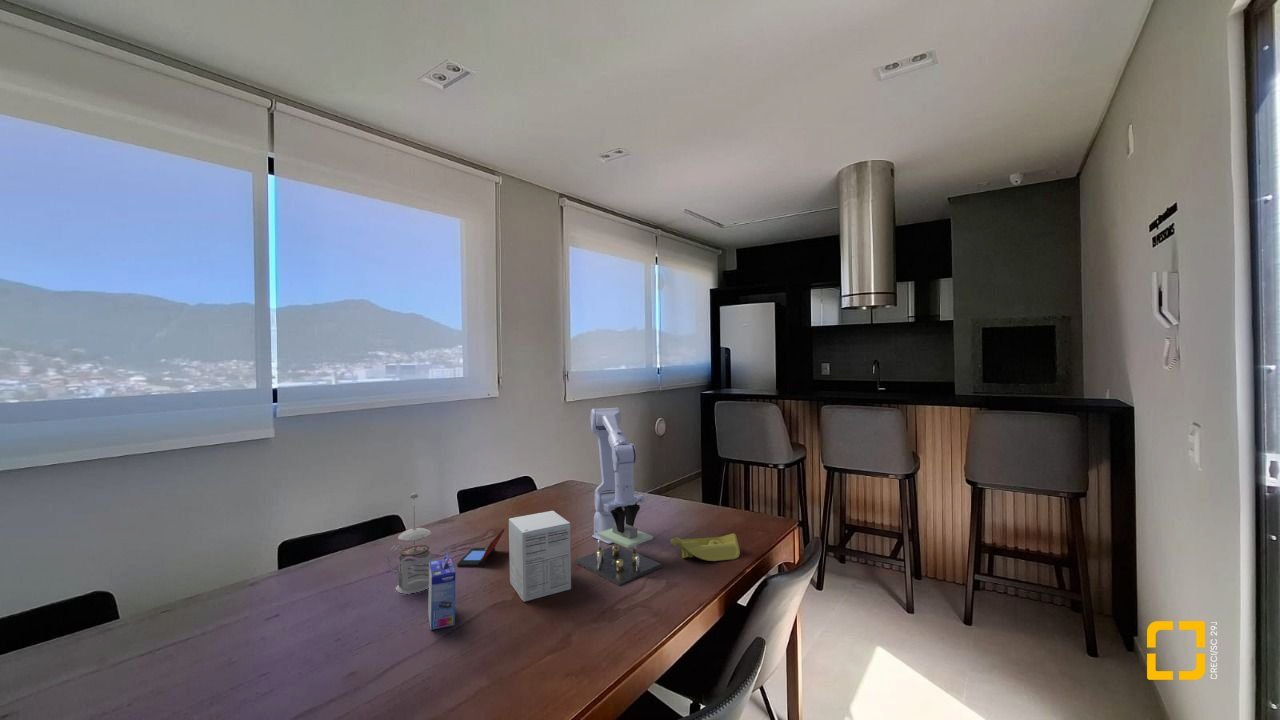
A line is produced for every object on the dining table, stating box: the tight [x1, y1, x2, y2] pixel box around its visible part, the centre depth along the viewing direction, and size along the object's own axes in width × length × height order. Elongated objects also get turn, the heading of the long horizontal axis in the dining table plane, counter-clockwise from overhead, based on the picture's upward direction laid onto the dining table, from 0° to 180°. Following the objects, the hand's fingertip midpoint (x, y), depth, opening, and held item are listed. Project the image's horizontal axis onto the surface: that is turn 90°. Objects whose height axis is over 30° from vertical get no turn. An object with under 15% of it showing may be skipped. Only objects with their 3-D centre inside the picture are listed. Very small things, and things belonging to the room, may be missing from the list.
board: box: [597, 523, 654, 549], centre depth 141 cm, size 14×10×3 cm
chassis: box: [575, 539, 662, 586], centre depth 138 cm, size 20×16×5 cm
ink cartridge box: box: [427, 552, 457, 631], centre depth 111 cm, size 10×6×14 cm, turn 27°
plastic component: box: [670, 533, 741, 562], centre depth 144 cm, size 20×7×10 cm
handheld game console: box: [456, 529, 505, 568], centre depth 144 cm, size 12×11×7 cm
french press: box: [386, 492, 432, 594], centre depth 127 cm, size 10×12×25 cm
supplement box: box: [508, 510, 572, 603], centre depth 126 cm, size 13×13×18 cm
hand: (625, 530), depth 141 cm, fingers closed on board, 3 cm apart
